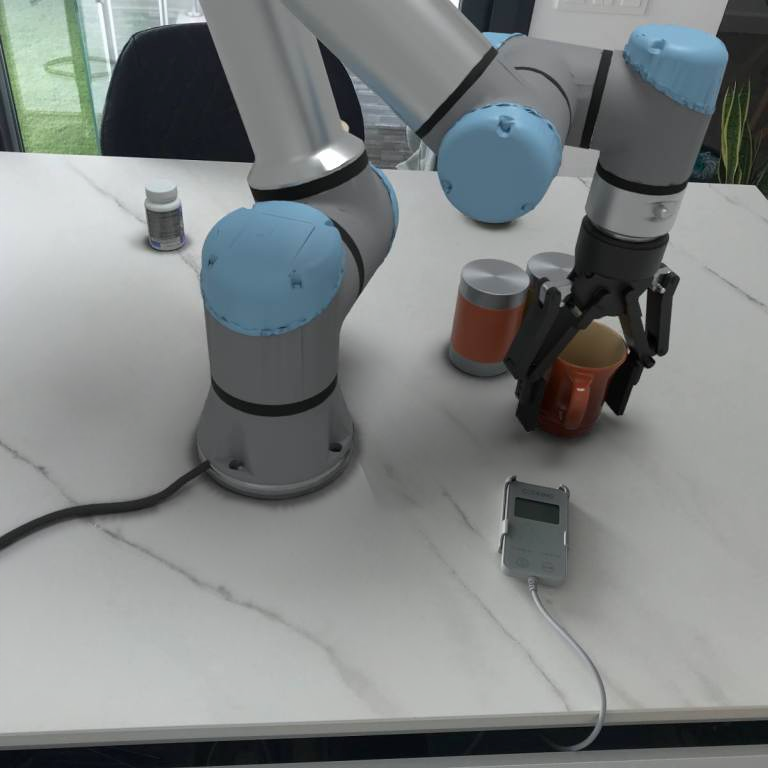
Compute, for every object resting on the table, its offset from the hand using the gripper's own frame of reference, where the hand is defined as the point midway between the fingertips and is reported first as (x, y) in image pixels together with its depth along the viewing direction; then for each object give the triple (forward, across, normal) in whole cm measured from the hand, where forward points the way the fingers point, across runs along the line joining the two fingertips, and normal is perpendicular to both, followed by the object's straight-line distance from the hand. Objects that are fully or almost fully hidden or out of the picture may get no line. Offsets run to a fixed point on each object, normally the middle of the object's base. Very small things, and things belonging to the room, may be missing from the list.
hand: (569, 415), depth 81 cm
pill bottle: (+2, -36, +47) cm, 59 cm away
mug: (+2, -1, 0) cm, 2 cm away
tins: (+2, 0, +14) cm, 14 cm away
